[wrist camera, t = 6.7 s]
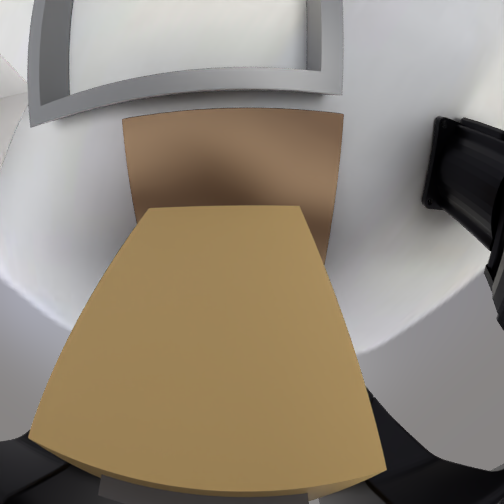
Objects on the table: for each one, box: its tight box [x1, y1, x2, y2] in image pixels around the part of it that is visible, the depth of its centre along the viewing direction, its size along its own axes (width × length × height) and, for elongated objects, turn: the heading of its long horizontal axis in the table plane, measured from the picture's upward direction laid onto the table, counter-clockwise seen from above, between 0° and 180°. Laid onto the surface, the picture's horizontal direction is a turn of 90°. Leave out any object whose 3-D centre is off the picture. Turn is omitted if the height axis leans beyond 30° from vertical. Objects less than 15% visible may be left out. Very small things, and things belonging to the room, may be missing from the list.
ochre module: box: [28, 205, 387, 504], centre depth 7 cm, size 7×4×7 cm, turn 0°
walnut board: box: [122, 108, 344, 264], centre depth 16 cm, size 12×12×1 cm
